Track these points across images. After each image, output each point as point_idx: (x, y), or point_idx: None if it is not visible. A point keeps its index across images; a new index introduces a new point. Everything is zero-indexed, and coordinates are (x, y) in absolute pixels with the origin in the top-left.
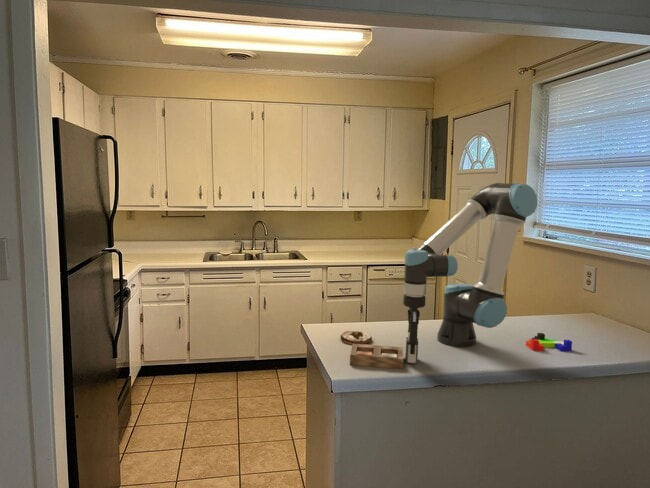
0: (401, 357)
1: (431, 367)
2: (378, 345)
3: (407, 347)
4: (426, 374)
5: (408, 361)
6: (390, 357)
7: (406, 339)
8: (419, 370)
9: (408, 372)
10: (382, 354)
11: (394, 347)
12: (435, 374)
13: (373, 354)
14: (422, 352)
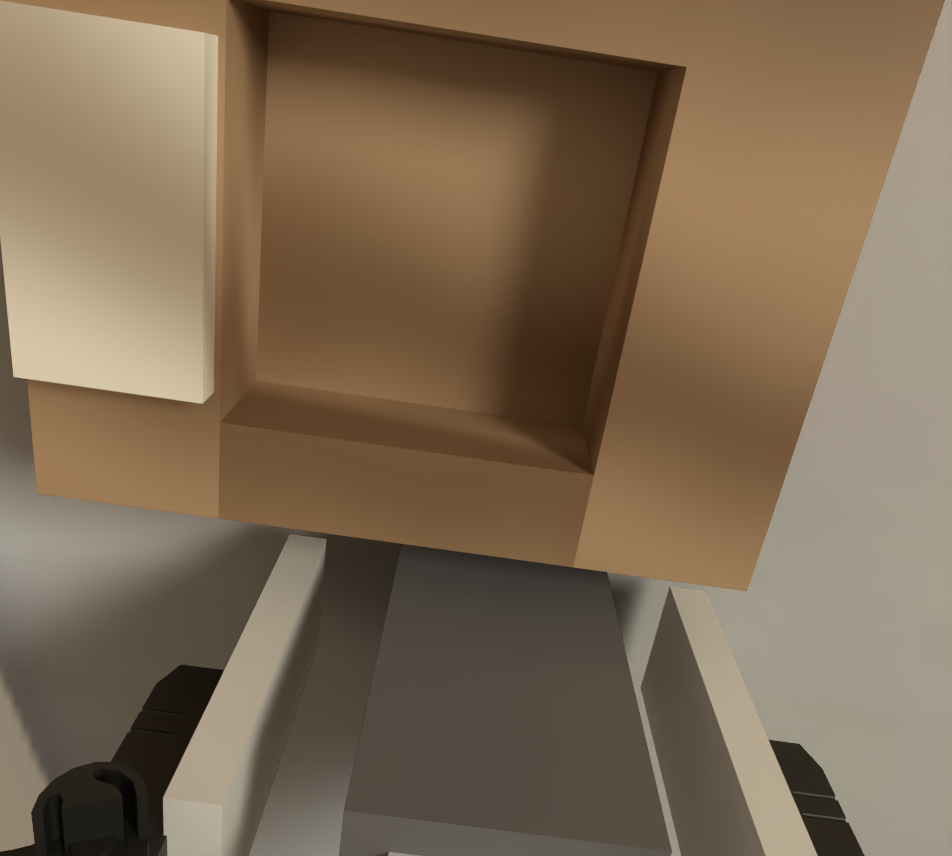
0: (112, 470)
1: (280, 780)
2: (935, 21)
3: (369, 695)
4: (12, 681)
5: (285, 553)
6: (12, 231)
7: (487, 820)
8: (134, 628)
9: (11, 472)
10: (90, 31)
11: (738, 424)
12: (47, 774)
13: None
14: (858, 790)
